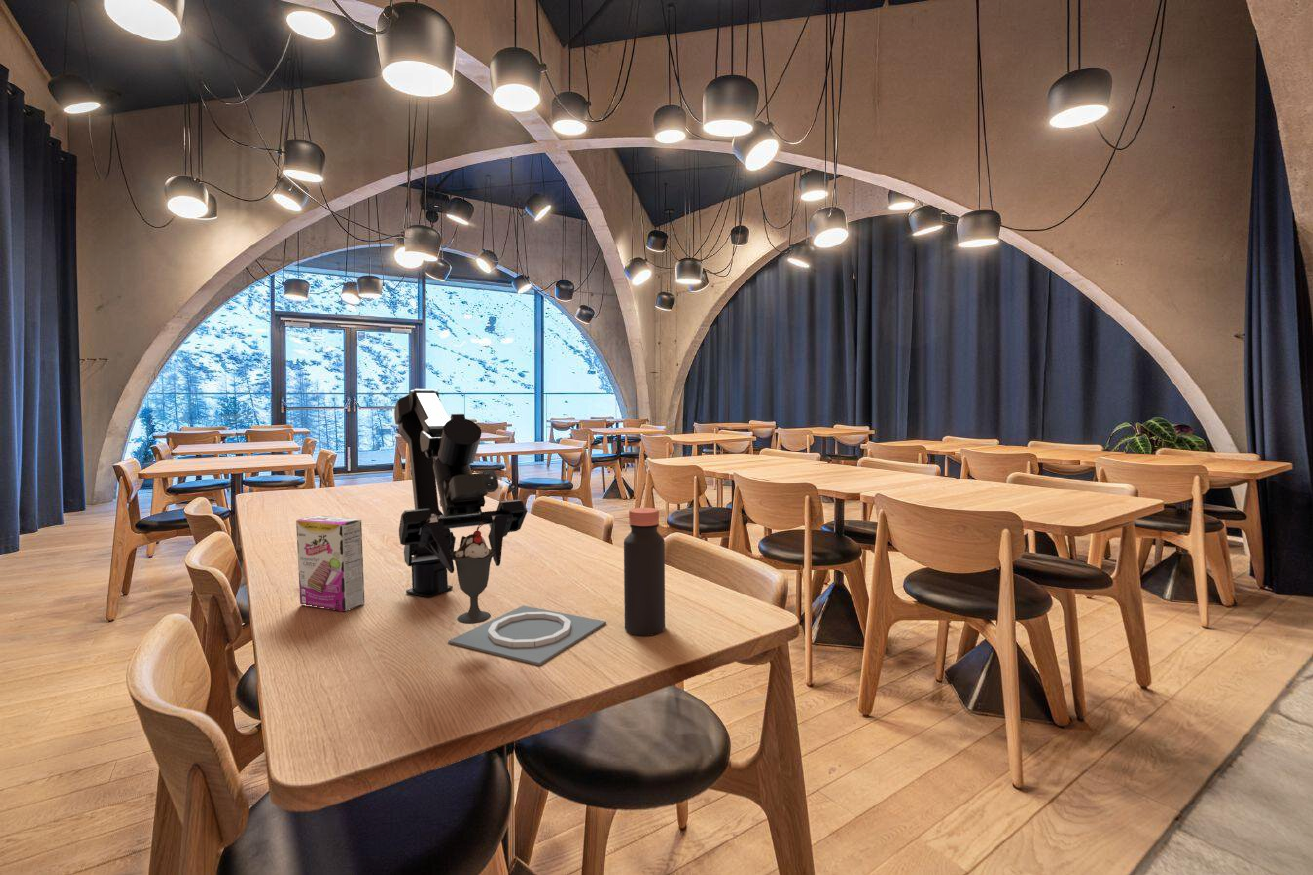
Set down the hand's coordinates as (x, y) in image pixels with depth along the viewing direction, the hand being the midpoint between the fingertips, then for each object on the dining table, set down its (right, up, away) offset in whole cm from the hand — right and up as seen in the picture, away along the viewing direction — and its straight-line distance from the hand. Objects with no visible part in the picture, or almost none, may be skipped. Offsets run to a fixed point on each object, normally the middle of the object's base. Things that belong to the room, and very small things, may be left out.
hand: (476, 567), depth 90 cm
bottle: (+25, -13, +10) cm, 30 cm away
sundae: (-1, -8, +2) cm, 8 cm away
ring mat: (+6, -13, +9) cm, 17 cm away
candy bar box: (-34, -12, +23) cm, 43 cm away
